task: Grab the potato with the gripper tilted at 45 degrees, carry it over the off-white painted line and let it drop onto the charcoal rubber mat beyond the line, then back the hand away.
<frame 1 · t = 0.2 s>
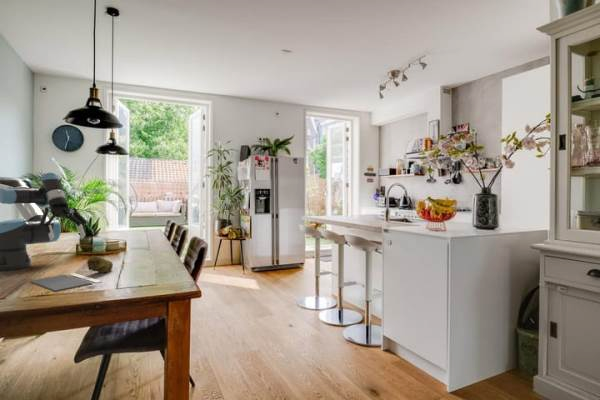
hand: (68, 237, 164), 16 cm above the table, tool tilted 35°, fingers open, 13 cm apart
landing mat: (60, 282, 143), on the table
throw line: (84, 278, 151), on the table
potato: (101, 273, 161), on the table
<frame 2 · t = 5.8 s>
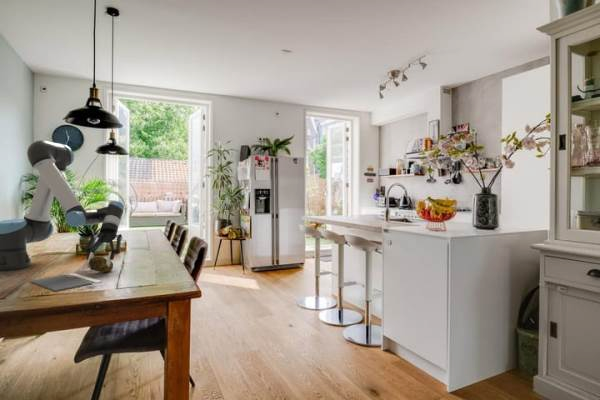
hand: (98, 265, 158), 4 cm above the table, tool tilted 45°, fingers closed on potato, 7 cm apart
potato: (102, 272, 161), on the table, touching gripper
when the fingers open (6 cm above the table, at t = 11.5 s): potato drops 2 cm, resting on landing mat.
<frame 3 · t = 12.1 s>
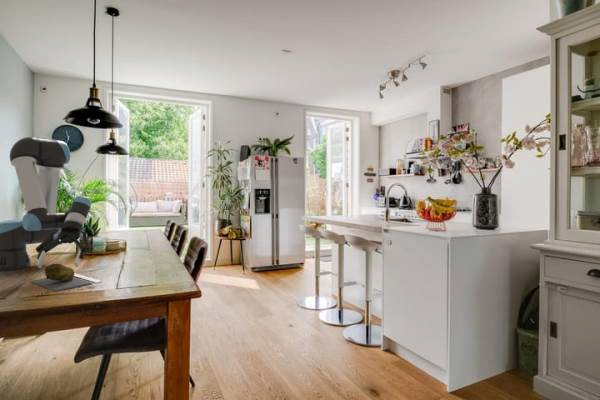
hand: (57, 265, 140), 8 cm above the table, tool tilted 45°, fingers open, 13 cm apart
potato: (61, 282, 143), resting on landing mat
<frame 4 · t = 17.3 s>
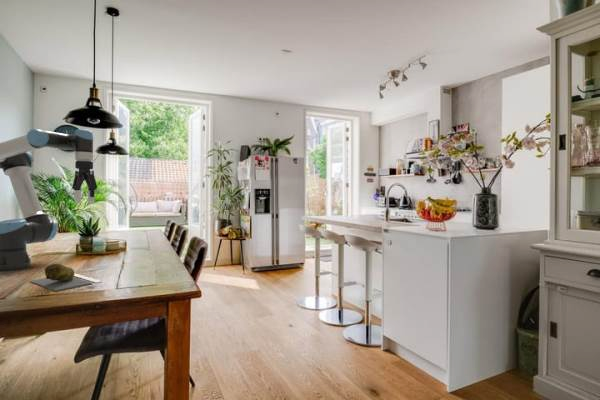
hand: (84, 203, 173), 32 cm above the table, tool pointing down, fingers open, 13 cm apart
nothing on the table moved.
at the end: potato inside the target area (0.6 cm from its centre), resting on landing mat; the gripper is holding nothing; potato touching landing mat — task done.
